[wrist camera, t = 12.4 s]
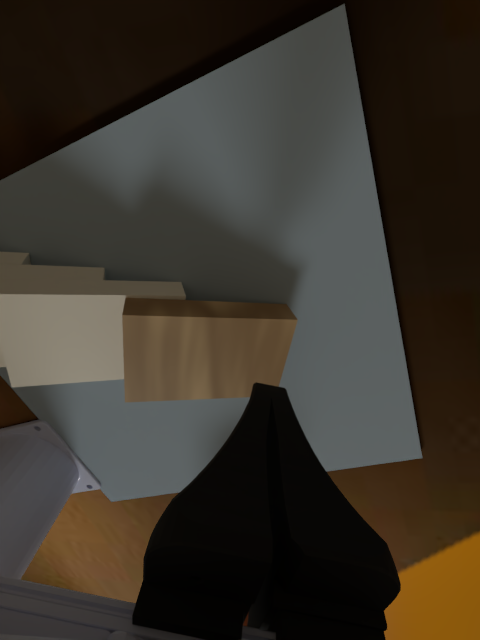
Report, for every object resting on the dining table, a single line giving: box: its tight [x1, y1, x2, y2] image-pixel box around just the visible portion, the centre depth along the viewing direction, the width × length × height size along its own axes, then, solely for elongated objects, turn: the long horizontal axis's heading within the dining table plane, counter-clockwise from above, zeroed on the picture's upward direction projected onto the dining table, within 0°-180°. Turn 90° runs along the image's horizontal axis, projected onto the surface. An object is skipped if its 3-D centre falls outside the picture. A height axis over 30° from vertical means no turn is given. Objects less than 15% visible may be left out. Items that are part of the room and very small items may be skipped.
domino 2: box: [0, 278, 186, 387], centre depth 16 cm, size 2×5×8 cm
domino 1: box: [0, 264, 105, 367], centre depth 16 cm, size 2×5×8 cm
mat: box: [0, 4, 422, 502], centre depth 19 cm, size 25×24×1 cm
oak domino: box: [122, 298, 298, 403], centre depth 16 cm, size 2×5×8 cm
